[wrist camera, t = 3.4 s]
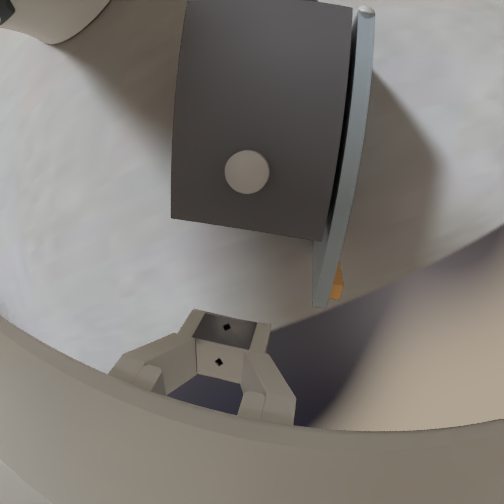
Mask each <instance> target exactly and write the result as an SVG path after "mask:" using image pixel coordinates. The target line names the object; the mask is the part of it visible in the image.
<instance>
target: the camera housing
mask: <svg viewBox="0 0 504 504" xmlns="http://www.w3.org/2000/svg"><path fill="white" fill-rule="evenodd" d="M352 10H353V8H350V7H345V6H340V5H334V4H328V3H321V2H318V0H195V1H187V7H186V13H185V19H184V25H183V32H182V39H181V47H180V55H179V63H178V73H177V83H176V94H175V106H174V120H173V138H172V163H171V218H173V219H180V220H187V221H194V222H200V223H207V224H214V225H220V226H227V227H233V228H240V229H246V230H253V231H259V232H265V233H271V234H277V235H284V236H290V237H296V238H302V239H308V240H313V241H319V242H322V240H323V235H324V230H325V225H326V220H327V215H328V210H329V205H330V199H331V194H332V188H333V182H334V176H335V170H336V164H337V158H338V151H339V145H340V138H341V131H342V123H343V116H344V108H345V99H346V90H347V81H348V70H349V59H350V46H351V31H352Z"/></svg>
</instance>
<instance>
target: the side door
mask: <svg viewBox="0 0 504 504" xmlns="http://www.w3.org/2000/svg"><path fill="white" fill-rule="evenodd" d="M374 29H375V12H374V10H373V9H372V8H371V7H369V6H365V5H364V6H361V7H360V8H359V9H358V12H357V14H356V16H355V18H354V20H353V23H352V31H351V46H350V59H349V70H348V81H347V90H346V99H345V108H344V116H343V123H342V131H341V138H340V145H339V151H338V158H337V164H336V170H335V176H334V182H333V188H332V194H331V199H330V205H329V210H328V215H327V220H326V225H325V230H324V235H323V240H322V242H319V241H314V244H313V249H312V277H313V286H312V306H313V307H319V308H326V307H327V303H328V300H329V298H331V299H337V300H339V299H340V296H341V292H342V289H343V280H342V275H341V269H340V264H339V259H340V255H341V251H342V247H343V243H344V239H345V234H346V230H347V226H348V221H349V217H350V212H351V207H352V202H353V197H354V192H355V187H356V182H357V177H358V171H359V166H360V160H361V154H362V148H363V141H364V134H365V127H366V120H367V112H368V104H369V95H370V86H371V75H372V63H373V49H374Z"/></svg>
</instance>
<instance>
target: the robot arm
mask: <svg viewBox="0 0 504 504" xmlns="http://www.w3.org/2000/svg"><path fill="white" fill-rule="evenodd" d="M109 1H110V0H0V28H5V29H10V30H14V31H18V32H21V33H25V34H27V35H30V36H32V37H34V38H36V39H38V40H40V41H42V42H43V43H46V44H57V43H60V42H63V41H65V40H67V39H69V38H71V37H72V36H74V35H75V34H77V33H78V32H80V31H81V30H82V29H83V28H84V27H86V26H87V25H88V24H89V23H90V22H91V21H92V20H93V19H94V18H95V17H96V16H97V15H98V14H99V13H100V12H101V11H102V10H103V8H104V7H105V6H106V5H107V4H108V2H109ZM270 329H271V324H266V323H260V322H258V323H257V322H252V321H246V320H241V319H236V318H232V317H227V316H223V315H219V314H215V313H210V312H206V311H201V310H197V309H194V310H192V311H191V313H190V314H189V316H188V318H187V319H186V321H185V322H184V324H183V326H182V327H181V329H180V330H179V332H178V333H177V334H176V333H172V334H170V335H168V336H165V337H163V338H161V339H158V340H156V341H154V342H151V343H149V344H147V345H144V346H142V347H139V348H137V349H134V350H132V351H130V352H127V353H125V354H123V355H122V356H121V358H120V359H119V360H118V362H117V363H116V364H115V366H114V367H113V368H112V370H111V371H110V372H109V374H106V373H103V372H101V371H99V370H97V369H94V368H92V367H90V366H88V365H86V364H84V363H82V362H80V361H77V360H75V359H73V358H71V357H69V356H67V355H66V354H64V353H62V352H60V351H58V350H56V349H54V348H52V347H51V346H49V345H47V344H45V343H43V342H42V341H40V340H38V339H36V338H35V337H33V336H31V335H30V334H28V333H26V332H25V331H23V330H22V329H20V328H18V327H17V326H15V325H14V324H12V323H11V322H9V321H8V320H6V319H5V318H3V317H2V316H0V504H504V419H498V420H493V421H488V422H483V423H477V424H471V425H466V426H458V427H450V428H441V429H430V430H417V431H387V432H385V431H372V432H371V431H346V430H330V429H320V428H310V427H301V426H293V421H294V413H295V404H296V397H295V396H294V394H293V392H292V391H291V389H290V388H289V386H288V385H287V383H286V381H285V380H284V378H283V377H282V375H281V373H280V372H279V370H278V369H277V367H276V365H275V364H274V362H273V360H272V359H271V357H270V355H269V354H266V351H267V345H268V340H269V334H270ZM197 373H198V374H202V375H206V376H211V377H215V378H220V379H224V380H228V381H232V382H236V383H240V384H241V387H242V390H243V393H244V395H243V398H242V402H241V405H240V408H239V411H238V415H232V414H228V413H223V412H219V411H215V410H211V409H207V408H204V407H200V406H196V405H193V404H189V403H186V402H183V401H179V400H176V399H173V398H169V397H167V396H166V395H167V394H168V393H170V392H171V391H173V390H175V389H176V388H178V387H179V386H181V385H182V384H183V383H185V382H186V381H188V380H189V379H191V378H192V377H194V376H195V375H196V374H197Z"/></svg>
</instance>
